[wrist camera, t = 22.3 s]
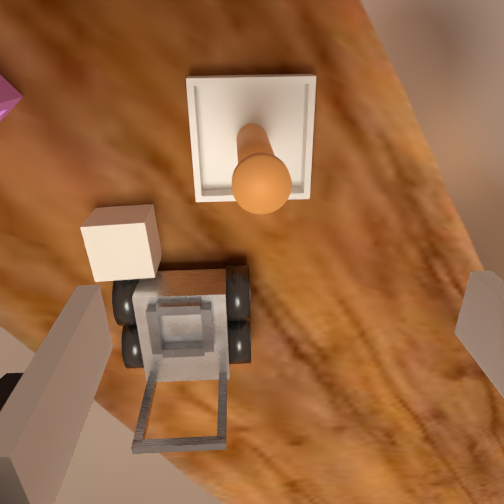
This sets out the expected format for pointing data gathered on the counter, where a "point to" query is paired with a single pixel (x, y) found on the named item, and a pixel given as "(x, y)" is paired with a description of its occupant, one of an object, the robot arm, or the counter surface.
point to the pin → (259, 173)
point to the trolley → (184, 338)
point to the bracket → (7, 97)
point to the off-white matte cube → (122, 242)
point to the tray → (249, 112)
